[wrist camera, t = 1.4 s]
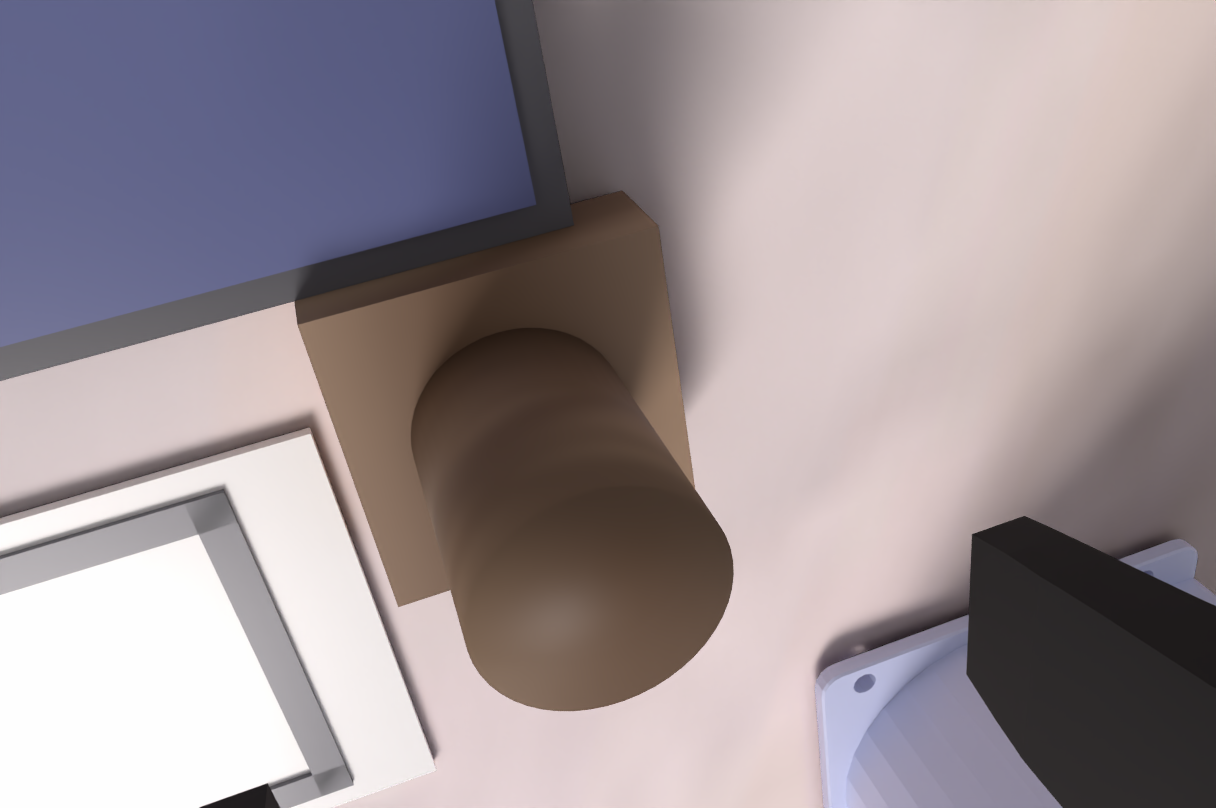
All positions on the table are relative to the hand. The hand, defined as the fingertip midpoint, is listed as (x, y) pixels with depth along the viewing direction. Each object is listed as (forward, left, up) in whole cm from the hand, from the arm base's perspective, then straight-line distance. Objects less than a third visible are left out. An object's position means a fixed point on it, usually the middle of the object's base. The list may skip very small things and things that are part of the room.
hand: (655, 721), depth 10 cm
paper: (+8, +4, -8) cm, 12 cm away
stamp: (0, 0, -8) cm, 8 cm away
